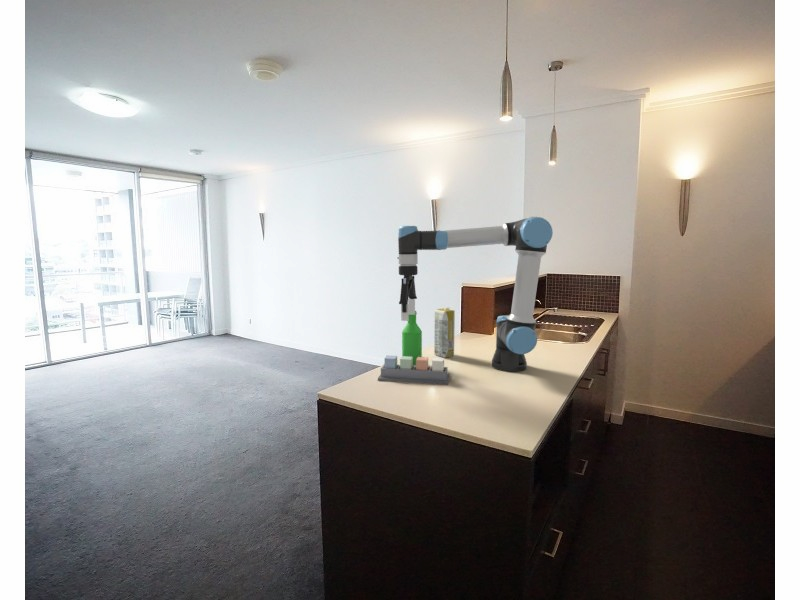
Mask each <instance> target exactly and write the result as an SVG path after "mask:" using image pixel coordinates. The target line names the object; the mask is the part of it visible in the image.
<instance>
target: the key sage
mask: <svg viewBox="0 0 800 600" xmlns="http://www.w3.org/2000/svg"><path fill="white" fill-rule="evenodd" d="M399 365H400V369H409V370H412V369H413V357H409V356H402V355H401V357H400V358H399Z"/></svg>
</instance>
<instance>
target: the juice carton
mask: <svg viewBox="0 0 800 600" xmlns="http://www.w3.org/2000/svg"><path fill="white" fill-rule="evenodd" d="M455 312H456V311H455V310H453V309H451V308H450V307H449V306H445V307H444V308H436V309H434V346H433V347H434V355H435V356H437V357H439V358H444V359H445V358H446V359H447V358H451V357H454V356H455V327H456V326H455V321H456V320H455V319H456V318H455Z"/></svg>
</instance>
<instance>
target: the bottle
mask: <svg viewBox="0 0 800 600" xmlns="http://www.w3.org/2000/svg"><path fill="white" fill-rule="evenodd" d="M417 314H418V312H417V310H415V315H408V316H409V320H408V321H407V322H406V323H407V324H406V325H405V326H404V328H403V329H402V330H401V331H402V332H401V335H402V336H401V343H402V344H401V348H402V349H401V353H402V354H401V357H402V356H409V357H413V365H416V359H417V357H423V352H422V351H423V348H422V347H423V344H422V343H423V338H422V336H423V331H422V329H421V328H420V326H419V325H418V323H417Z"/></svg>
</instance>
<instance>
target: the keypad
mask: <svg viewBox="0 0 800 600" xmlns="http://www.w3.org/2000/svg"><path fill="white" fill-rule="evenodd" d="M448 368H449V367H447V366H444V371H432V365H431V366H430V365H428V371H427V370H416V365H413V369H412V370H409V369H400V364H397V369H391V368H385V363H383V365H382V366H381V368H380V375H379V376H378V377H377V382H396V383H410V384H411V383H414V384H426V385H428V384H429V385H442V386H443V385H444V386H448V385H449V381H450V374H451V373H448V372H449V371H448Z"/></svg>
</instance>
